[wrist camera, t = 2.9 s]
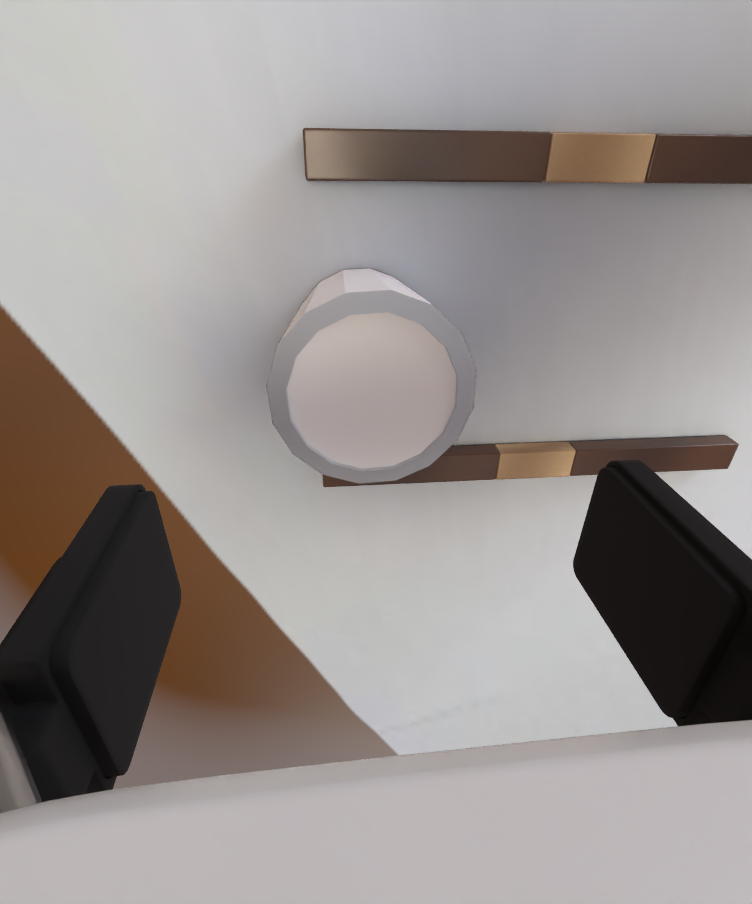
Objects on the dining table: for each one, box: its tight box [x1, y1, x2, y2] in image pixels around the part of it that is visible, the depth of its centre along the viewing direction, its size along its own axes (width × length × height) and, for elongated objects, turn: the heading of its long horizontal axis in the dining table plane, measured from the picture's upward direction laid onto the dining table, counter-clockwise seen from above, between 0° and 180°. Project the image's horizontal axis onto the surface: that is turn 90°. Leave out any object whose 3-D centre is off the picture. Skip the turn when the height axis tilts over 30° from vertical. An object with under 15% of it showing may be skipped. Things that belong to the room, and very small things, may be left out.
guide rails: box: [303, 128, 752, 487], centre depth 22 cm, size 22×15×1 cm
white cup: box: [266, 268, 476, 484], centre depth 19 cm, size 7×7×7 cm
